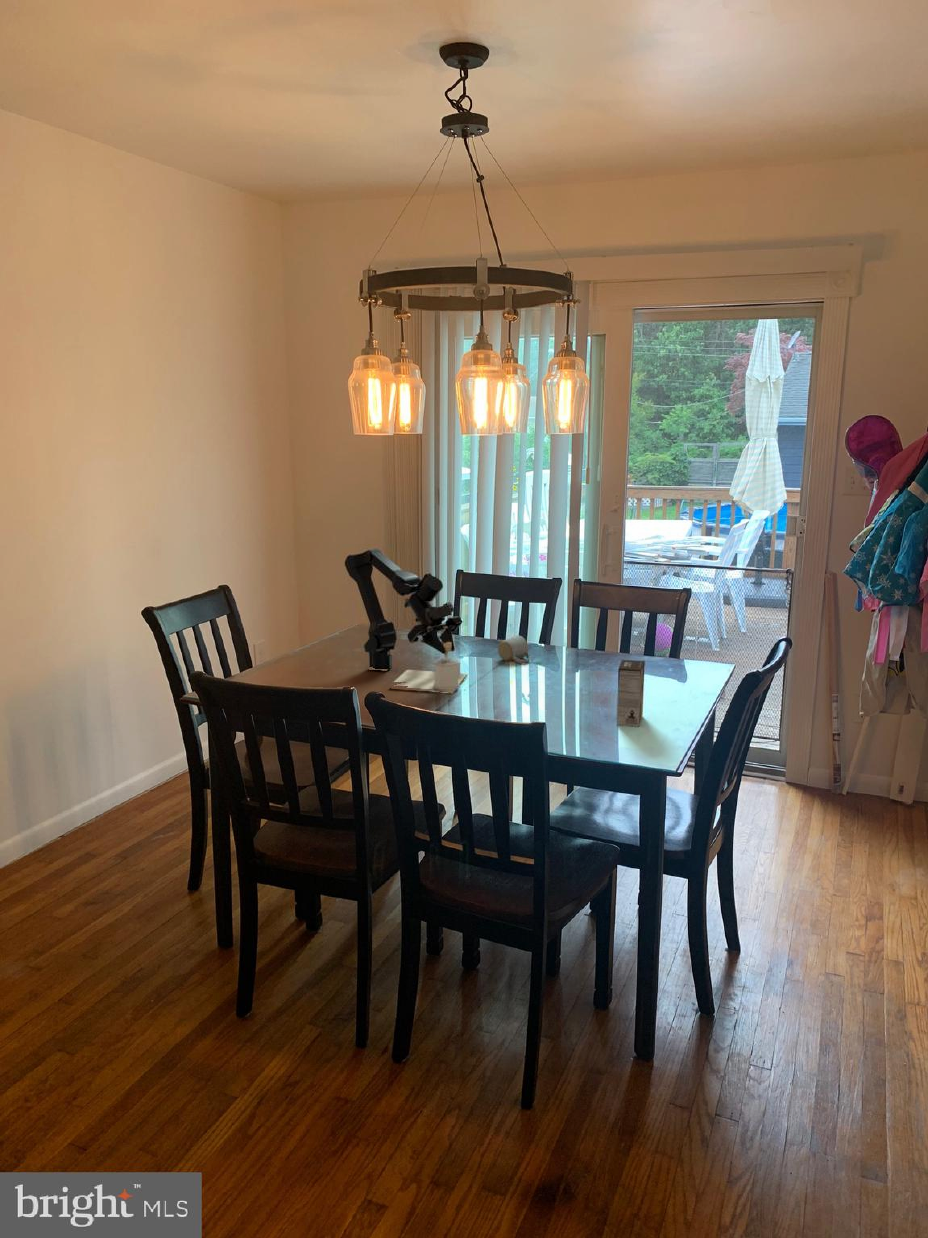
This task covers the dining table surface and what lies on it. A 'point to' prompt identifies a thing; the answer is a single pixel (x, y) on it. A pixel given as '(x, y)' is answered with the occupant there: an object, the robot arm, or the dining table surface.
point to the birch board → (422, 680)
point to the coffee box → (630, 693)
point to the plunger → (447, 649)
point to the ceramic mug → (514, 649)
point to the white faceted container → (446, 674)
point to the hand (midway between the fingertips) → (449, 651)
